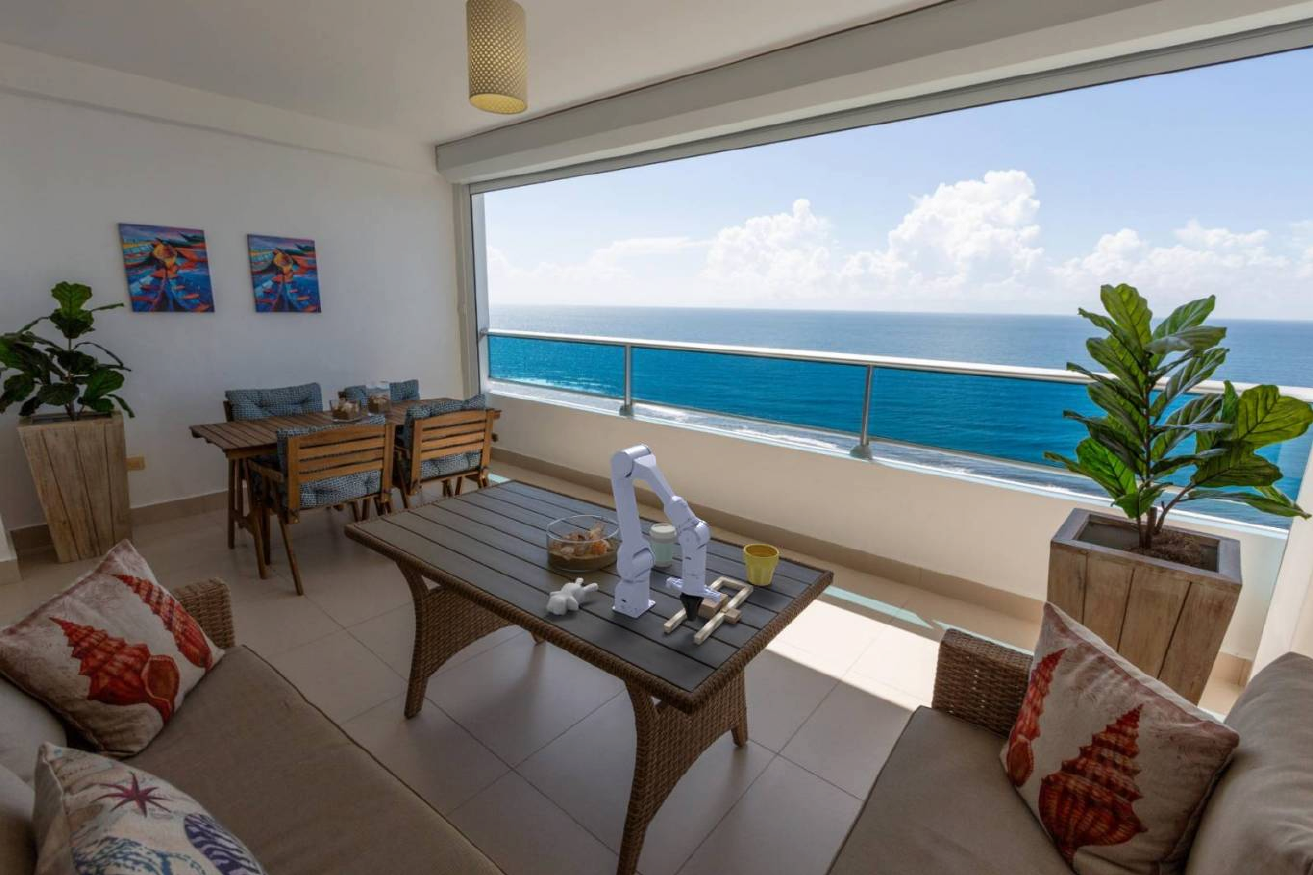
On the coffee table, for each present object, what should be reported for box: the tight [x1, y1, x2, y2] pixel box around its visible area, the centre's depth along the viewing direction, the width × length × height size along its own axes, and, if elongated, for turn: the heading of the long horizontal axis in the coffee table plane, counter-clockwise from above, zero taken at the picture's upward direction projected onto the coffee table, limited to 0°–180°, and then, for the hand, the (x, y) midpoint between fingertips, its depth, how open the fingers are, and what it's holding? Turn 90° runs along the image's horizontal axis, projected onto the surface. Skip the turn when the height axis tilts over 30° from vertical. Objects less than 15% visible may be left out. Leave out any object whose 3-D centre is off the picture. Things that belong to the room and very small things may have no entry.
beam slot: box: [663, 576, 754, 645], centre depth 148 cm, size 32×13×2 cm, turn 147°
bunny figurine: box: [545, 577, 599, 616], centre depth 150 cm, size 10×5×15 cm
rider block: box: [697, 591, 729, 621], centre depth 148 cm, size 8×5×4 cm, turn 147°
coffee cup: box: [649, 523, 678, 568], centre depth 175 cm, size 9×8×12 cm
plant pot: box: [742, 543, 780, 587], centre depth 165 cm, size 10×10×10 cm
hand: (691, 619), depth 140 cm, fingers closed
